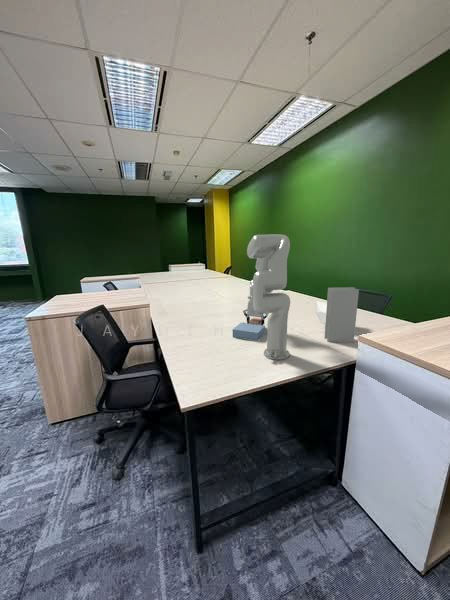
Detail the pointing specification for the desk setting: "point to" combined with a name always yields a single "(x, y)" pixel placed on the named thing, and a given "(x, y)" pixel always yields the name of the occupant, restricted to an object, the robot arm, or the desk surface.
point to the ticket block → (249, 331)
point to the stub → (255, 321)
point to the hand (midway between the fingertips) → (255, 324)
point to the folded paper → (321, 311)
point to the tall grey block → (341, 314)
